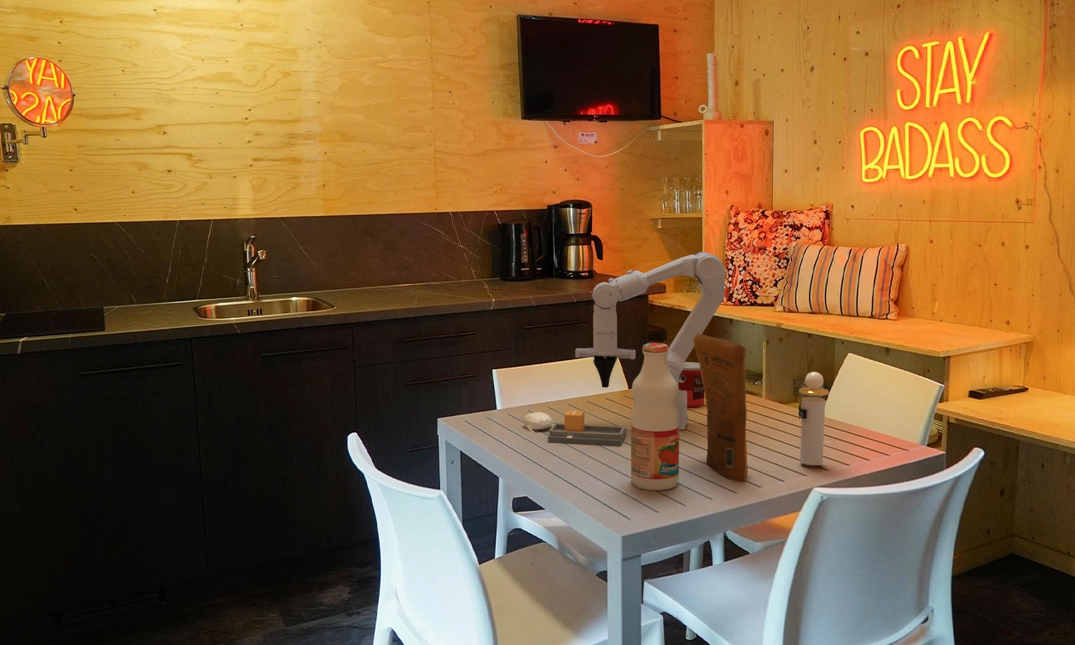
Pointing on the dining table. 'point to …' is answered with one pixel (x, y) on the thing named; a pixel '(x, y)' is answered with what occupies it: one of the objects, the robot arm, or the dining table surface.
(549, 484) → the dining table surface
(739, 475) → the pancake mix bag
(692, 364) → the canned food
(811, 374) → the perfume bottle
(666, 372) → the fruit juice
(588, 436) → the fader console
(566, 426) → the fader tab
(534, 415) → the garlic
